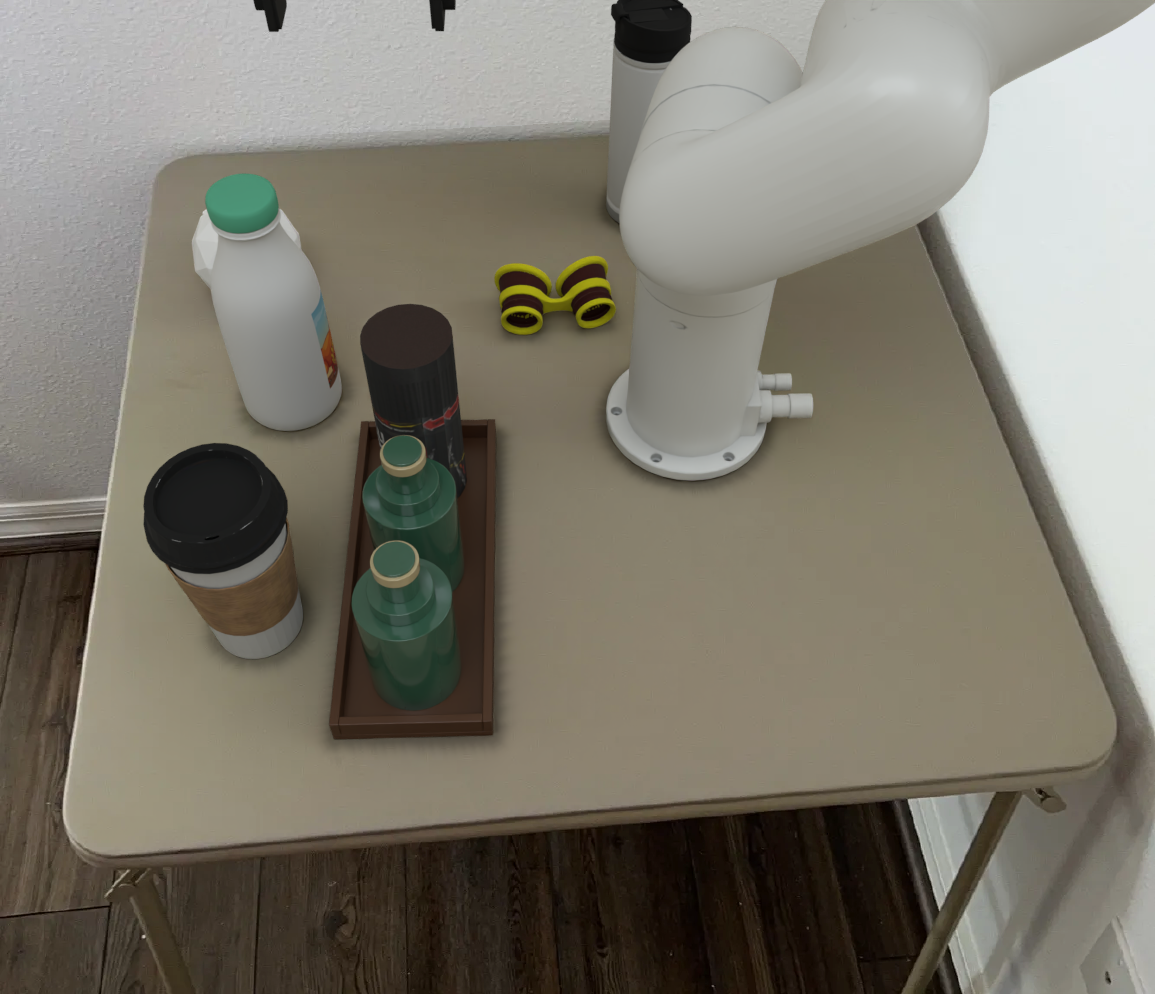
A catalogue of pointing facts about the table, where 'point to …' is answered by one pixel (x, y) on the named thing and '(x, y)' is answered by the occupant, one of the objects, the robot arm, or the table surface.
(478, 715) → the tray
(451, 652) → the bottle front
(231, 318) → the milk bottle
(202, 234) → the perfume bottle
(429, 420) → the deodorant
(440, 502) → the bottle middle
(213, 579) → the coffee cup
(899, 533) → the table surface
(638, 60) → the travel mug
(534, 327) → the opera glasses
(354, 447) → the table surface
